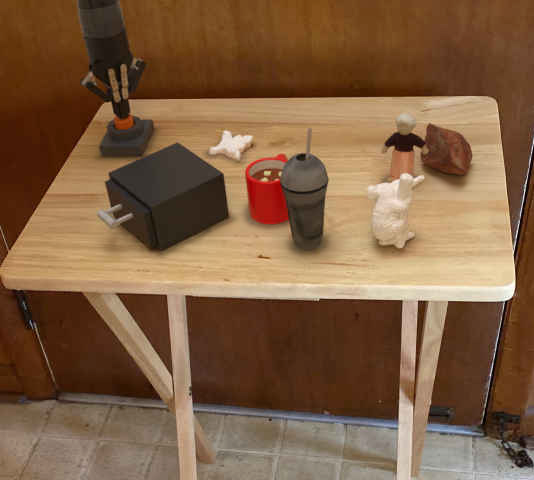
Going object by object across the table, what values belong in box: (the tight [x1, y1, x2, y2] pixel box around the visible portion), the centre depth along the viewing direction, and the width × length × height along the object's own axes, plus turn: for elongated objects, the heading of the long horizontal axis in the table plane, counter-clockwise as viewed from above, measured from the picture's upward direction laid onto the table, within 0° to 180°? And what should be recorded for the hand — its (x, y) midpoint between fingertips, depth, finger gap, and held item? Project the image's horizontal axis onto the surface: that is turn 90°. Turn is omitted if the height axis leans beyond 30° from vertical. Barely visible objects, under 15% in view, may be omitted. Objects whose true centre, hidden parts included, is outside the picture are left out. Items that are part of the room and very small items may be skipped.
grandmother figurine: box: [380, 112, 428, 183], centre depth 135 cm, size 8×4×13 cm, turn 89°
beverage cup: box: [280, 127, 330, 252], centre depth 122 cm, size 7×7×20 cm
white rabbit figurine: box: [365, 173, 425, 250], centre depth 124 cm, size 8×7×12 cm
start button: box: [113, 113, 134, 130], centre depth 154 cm, size 4×4×2 cm
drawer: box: [96, 178, 158, 249], centre depth 133 cm, size 17×12×7 cm
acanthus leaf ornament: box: [208, 130, 254, 162], centre depth 151 cm, size 8×7×2 cm
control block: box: [98, 115, 155, 157], centre depth 155 cm, size 10×8×4 cm
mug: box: [244, 153, 289, 225], centre depth 135 cm, size 8×12×8 cm, turn 164°
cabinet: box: [107, 142, 230, 252], centre depth 134 cm, size 14×14×9 cm
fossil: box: [419, 122, 473, 176], centre depth 140 cm, size 13×8×10 cm
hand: (123, 116), depth 153 cm, fingers closed
